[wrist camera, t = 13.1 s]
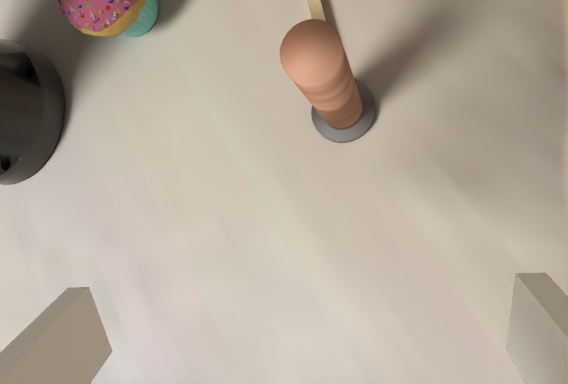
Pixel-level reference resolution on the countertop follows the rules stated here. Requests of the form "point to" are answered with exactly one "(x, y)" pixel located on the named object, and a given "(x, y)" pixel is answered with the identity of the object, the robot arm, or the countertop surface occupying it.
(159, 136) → the countertop surface
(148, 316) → the countertop surface
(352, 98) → the tethered block
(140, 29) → the cupcake
